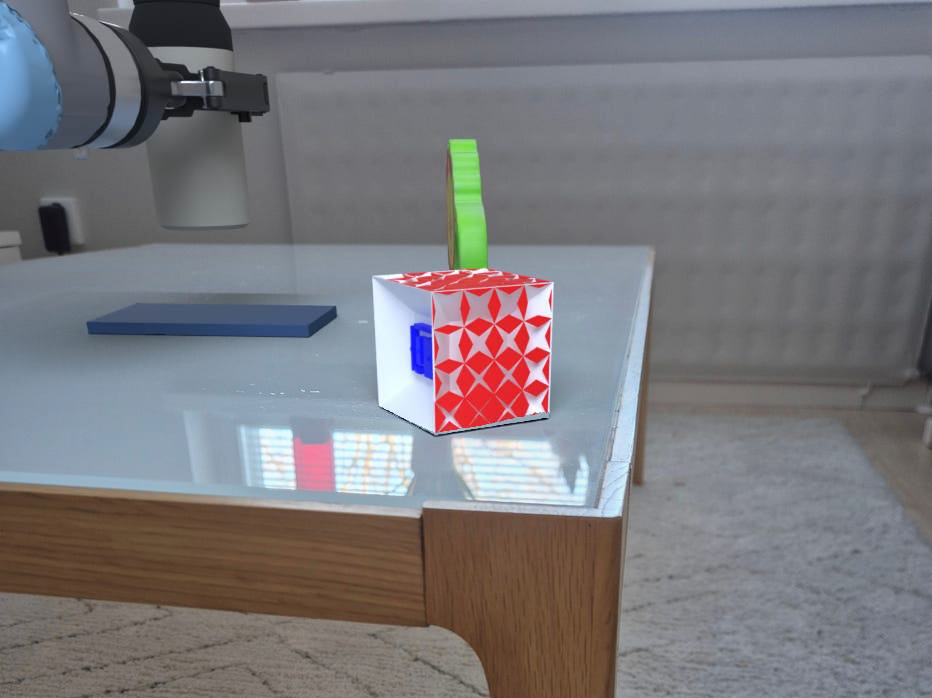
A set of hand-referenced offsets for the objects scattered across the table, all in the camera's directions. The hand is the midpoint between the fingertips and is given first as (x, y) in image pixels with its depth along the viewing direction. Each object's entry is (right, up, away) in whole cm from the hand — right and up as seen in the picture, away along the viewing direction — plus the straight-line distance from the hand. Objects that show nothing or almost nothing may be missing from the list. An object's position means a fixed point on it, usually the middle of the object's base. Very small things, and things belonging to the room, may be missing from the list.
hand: (208, 98), depth 82 cm
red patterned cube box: (+23, -33, -23) cm, 46 cm away
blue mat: (-1, -18, +5) cm, 19 cm away
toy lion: (+23, -23, -3) cm, 32 cm away
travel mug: (0, -11, +1) cm, 11 cm away
